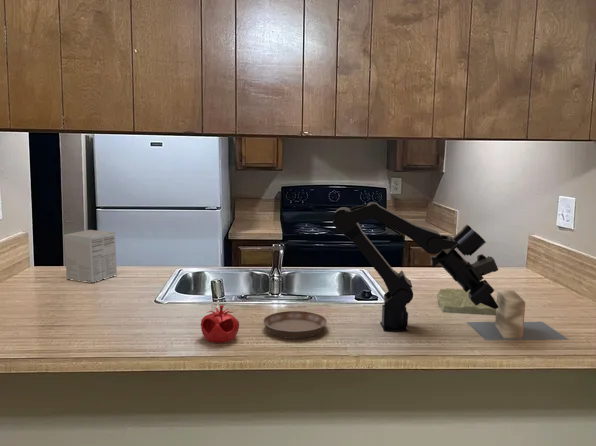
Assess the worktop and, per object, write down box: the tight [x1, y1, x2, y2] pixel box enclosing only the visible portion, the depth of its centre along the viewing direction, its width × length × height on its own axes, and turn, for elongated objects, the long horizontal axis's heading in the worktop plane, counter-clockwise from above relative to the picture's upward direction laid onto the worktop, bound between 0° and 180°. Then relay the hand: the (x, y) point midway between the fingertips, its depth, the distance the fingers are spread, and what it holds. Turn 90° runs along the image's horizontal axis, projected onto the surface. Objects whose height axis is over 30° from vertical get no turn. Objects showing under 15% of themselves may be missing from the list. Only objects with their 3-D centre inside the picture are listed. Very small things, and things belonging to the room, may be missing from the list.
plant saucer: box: [262, 310, 327, 339], centre depth 145 cm, size 18×18×3 cm
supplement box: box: [63, 229, 118, 283], centre depth 197 cm, size 13×13×18 cm
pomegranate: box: [200, 304, 240, 344], centre depth 137 cm, size 10×10×9 cm
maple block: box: [494, 289, 526, 339], centre depth 142 cm, size 5×10×10 cm, turn 172°
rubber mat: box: [466, 321, 570, 341], centre depth 144 cm, size 22×14×1 cm, turn 92°
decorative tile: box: [436, 288, 497, 316], centre depth 167 cm, size 19×20×4 cm
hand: (496, 307), depth 142 cm, fingers closed
